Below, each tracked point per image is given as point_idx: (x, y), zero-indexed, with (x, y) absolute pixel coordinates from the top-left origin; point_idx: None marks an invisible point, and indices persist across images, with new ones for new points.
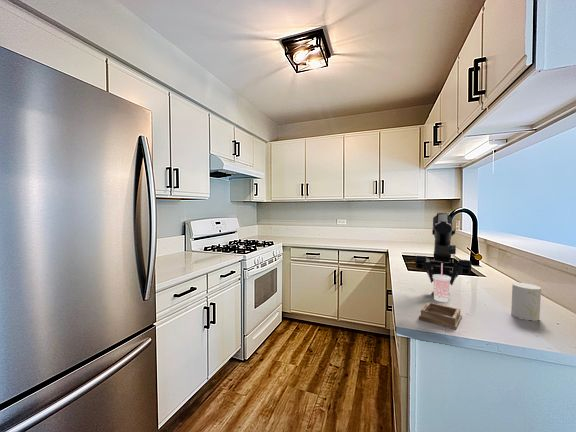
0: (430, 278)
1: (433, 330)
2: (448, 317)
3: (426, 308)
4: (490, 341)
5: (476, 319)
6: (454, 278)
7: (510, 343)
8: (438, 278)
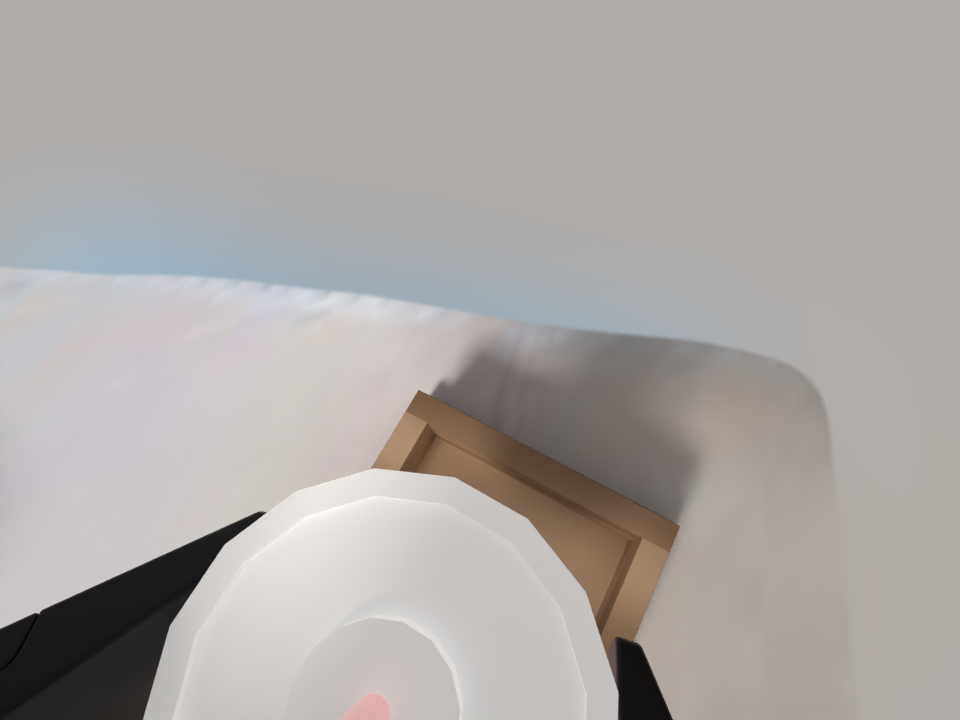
0: (661, 701)
1: (591, 351)
2: (461, 412)
3: (606, 618)
4: (288, 286)
5: None
6: (118, 593)
7: (186, 289)
8: (515, 513)
